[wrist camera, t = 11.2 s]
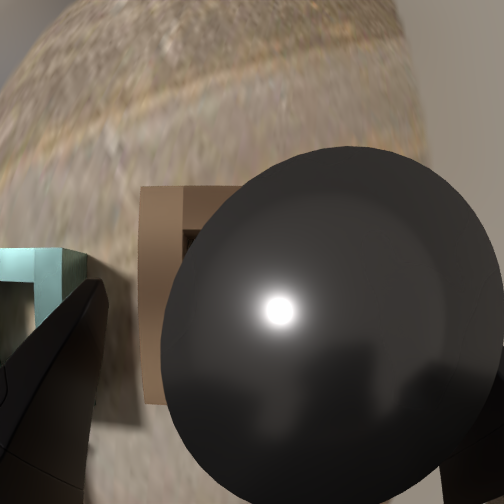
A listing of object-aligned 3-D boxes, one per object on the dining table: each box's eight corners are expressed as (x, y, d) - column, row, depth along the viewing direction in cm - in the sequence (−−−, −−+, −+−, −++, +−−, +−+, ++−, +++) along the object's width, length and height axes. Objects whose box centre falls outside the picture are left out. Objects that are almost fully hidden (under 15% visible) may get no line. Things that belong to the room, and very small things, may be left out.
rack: (329, 375, 16) (353, 392, 13) (155, 383, 15) (145, 403, 12) (327, 205, 17) (350, 190, 14) (152, 203, 15) (140, 186, 12)
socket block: (95, 404, 14) (75, 425, 11) (-12, 383, 13) (-39, 395, 10) (86, 253, 15) (62, 247, 12) (-21, 254, 14) (-51, 249, 11)
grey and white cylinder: (266, 347, 15) (426, 513, 3) (190, 319, 15) (113, 468, 2) (294, 272, 16) (524, 239, 3) (220, 242, 16) (259, 84, 3)
